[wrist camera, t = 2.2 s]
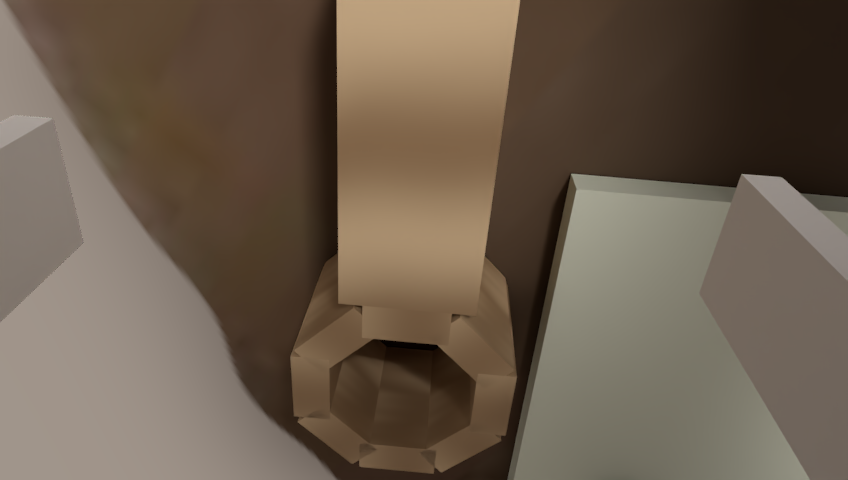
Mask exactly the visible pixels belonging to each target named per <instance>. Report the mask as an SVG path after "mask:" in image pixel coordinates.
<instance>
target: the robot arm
mask: <svg viewBox="0 0 848 480" xmlns="http://www.w3.org/2000/svg"><path fill="white" fill-rule="evenodd" d="M82 244H83V238H82V234H81V230H80V226H79V222H78V217H77V214H76V209H75V205H74V201H73V197H72V193H71V189H70V185H69V181H68V176H67V172H66V168H65V164H64V160H63V156H62V152H61V148H60V144H59V139H58V135H57V131H56V127H55V123H54V119H53V118H45V117H33V116H19V115H13V116H11V117H9V118H7V119H5V120H3V121H1V122H0V322H1V321H2V320H3V319H4V318H5V317H6V316H7V315H8V314H9V313H10V312H11V311H13V310H14V309H15V308H16V307H17V306H18V305H19V304H20V303H21V302H22V301H23V300H24V299H25V298H26V297H27V296H28V295H29V294H30V293H31V292H32V291H34V290H35V289H36V288H37V287H38V286H39V285H40V284H41V283H42V282H43V281H44V280H45V279H46V278H47V277H48V276H49V275H50V274H51V273H52V272H53V271H54V270H56V269H57V268H58V267H59V266H60V265H61V264H62V263H63V262H64V261H65V260H66V259H67V258H68V257H69V256H70V255H71V254H72V253H73V252H74V251H75V250H76V249H78V247H80V246H81V245H82ZM699 294H700V296H701V297H702V299H703V301H704V302H705V304H706V306H707V308H708V309H709V311H710V313H711V314H712V316H713V318H714V319H715V321H716V323H717V324H718V326H719V328H720V329H721V331H722V333H723V334H724V336H725V338H726V339H727V341H728V343H729V344H730V346H731V348H732V350H733V351H734V353H735V355H736V356H737V358H738V360H739V361H740V363H741V365H742V366H743V368H744V370H745V371H746V373H747V375H748V376H749V378H750V380H751V381H752V383H753V385H754V386H755V388H756V390H757V392H758V393H759V395H760V397H761V398H762V400H763V402H764V403H765V405H766V407H767V408H768V410H769V412H770V413H771V415H772V417H773V418H774V420H775V422H776V423H777V425H778V427H779V429H780V430H781V432H782V434H783V435H784V437H785V439H786V440H787V442H788V444H789V445H790V447H791V449H792V450H793V452H794V454H795V455H796V457H797V459H798V460H799V462H800V464H801V465H802V467H803V469H804V471H805V472H806V474H807V476H808V477H809V479H810V480H848V236H847V235H846V234H845V233H844V232H843V231H841V230H840V229H839V228H838V227H837V226H836V225H835V224H834V223H832V222H831V221H830V220H829V219H828V218H827V217H826V216H825V215H824V214H822V213H821V212H820V211H819V210H818V209H817V208H816V207H815V206H813V205H812V204H811V203H810V202H809V201H808V200H807V199H806V198H805V197H803V196H802V195H801V194H800V193H799V192H798V191H797V190H796V189H794V188H793V187H792V186H791V185H790V184H789V183H788V182H787V181H786V180H784V179H783V178H782V177H773V176H761V175H748V174H741V177H740V179H739V182H738V185H737V188H736V191H735V193H734V196H733V199H732V202H731V205H730V208H729V210H728V213H727V216H726V219H725V222H724V224H723V227H722V230H721V233H720V236H719V239H718V241H717V244H716V247H715V250H714V253H713V255H712V258H711V261H710V264H709V267H708V270H707V272H706V275H705V278H704V281H703V284H702V286H701V289H700V292H699Z"/></svg>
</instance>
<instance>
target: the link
mask: <svg viewBox="0 0 848 480" xmlns="http://www.w3.org/2000/svg"><path fill="white" fill-rule="evenodd" d="M519 5H520V0H337V148H338V253H337V254H335V255H334V256H333V257H331V258H330V259H329V260H328V261H326V262H325V265H324V268H322V271H321V274H320V276H319V279H318V282H317V285H316V287H315V290H314V293H313V296H312V298H311V301H310V304H309V307H308V309H307V312H306V315H305V318H304V320H303V323H302V326H301V329H300V331H299V334H298V337H297V340H296V342H295V345H294V348H293V351H292V353H291V356H290V359H291V375H292V392H293V409H294V416H297V417H299V418H298V423H299V424H301V425H302V426H303V427H305V428H306V429H307V430H308V431H310V432H311V433H312V434H314V435H315V436H316V437H318V438H319V439H320V440H321V441H323V442H324V443H325V444H327V445H328V446H329V447H331V448H332V449H333V450H334V451H336V452H337V453H338V454H340V455H341V456H342V457H343V458H345V459H346V460H347V461H349V462H350V463H351V464H353V463H355V462H357V461H358V460H359V467H366V468H377V469H388V470H398V471H409V472H420V473H430V474H434V467H435V468H437V469H438V470H439V471H440V472H443V471H445V470H447V469H449V468H451V467H453V466H455V465H456V464H458V463H460V462H462V461H464V460H466V459H468V458H470V457H472V456H474V455H475V454H477V453H479V452H481V451H483V450H485V449H487V448H489V447H491V446H493V445H494V444H496V443H498V442H500V441H501V435H502V436H506V431H507V426H508V421H509V416H510V411H511V405H512V400H513V395H514V390H515V385H516V380H517V372H516V362H515V352H514V343H513V333H512V323H511V313H510V303H509V293H508V284H506V278H505V277H504V276H503V275H502V274H501V273H500V272H499V271H498V269H497V268H496V267H495V266H494V265H493V264H492V263H491V262H490V261H489V260H488V259H487V258H486V257H485V249H486V242H487V234H488V227H489V220H490V213H491V206H492V198H493V191H494V184H495V177H496V170H497V163H498V155H499V148H500V141H501V134H502V127H503V120H504V112H505V105H506V98H507V91H508V84H509V77H510V69H511V62H512V55H513V48H514V41H515V33H516V26H517V19H518V12H519ZM379 339H380V340H391V341H402V342H413V343H424V344H435V345H438V346H439V347H438V348H437V349H435V350H433V351H430V350H419V349H408V348H397V347H386V346H385V345H384V344H383V343H382V342H381V341H380V340H379Z"/></svg>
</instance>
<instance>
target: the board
mask: <svg viewBox="0 0 848 480" xmlns="http://www.w3.org/2000/svg"><path fill="white" fill-rule="evenodd" d="M735 191H736V188H733V187H722V186H710V185H698V184H687V183H675V182H663V181H652V180H640V179H628V178H617V177H605V176H593V175H582V174H571V176H570V181H569V186H568V191H567V196H566V200H565V205H564V210H563V215H562V220H561V225H560V229H559V234H558V239H557V244H556V249H555V253H554V258H553V263H552V268H551V273H550V277H549V282H548V287H547V292H546V297H545V301H544V306H543V311H542V316H541V321H540V325H539V330H538V335H537V340H536V345H535V349H534V354H533V359H532V364H531V369H530V373H529V378H528V383H527V388H526V393H525V397H524V402H523V407H522V412H521V417H520V421H519V426H518V431H517V436H516V441H515V445H514V450H513V455H512V460H511V465H510V469H509V474H508V479H507V480H810V479H809V477H808V476H807V474H806V472H805V471H804V469H803V467H802V465H801V464H800V462H799V460H798V459H797V457H796V455H795V454H794V452H793V450H792V449H791V447H790V445H789V444H788V442H787V440H786V439H785V437H784V435H783V434H782V432H781V430H780V429H779V427H778V425H777V423H776V422H775V420H774V418H773V417H772V415H771V413H770V412H769V410H768V408H767V407H766V405H765V403H764V402H763V400H762V398H761V397H760V395H759V393H758V392H757V390H756V388H755V386H754V385H753V383H752V381H751V380H750V378H749V376H748V375H747V373H746V371H745V370H744V368H743V366H742V365H741V363H740V361H739V360H738V358H737V356H736V355H735V353H734V351H733V350H732V348H731V346H730V344H729V343H728V341H727V339H726V338H725V336H724V334H723V333H722V331H721V329H720V328H719V326H718V324H717V323H716V321H715V319H714V318H713V316H712V314H711V313H710V311H709V309H708V308H707V306H706V304H705V302H704V301H703V299H702V297H701V296H700V294H699V292H700V289H701V286H702V284H703V281H704V278H705V275H706V272H707V270H708V267H709V264H710V261H711V258H712V255H713V253H714V250H715V247H716V244H717V241H718V239H719V236H720V233H721V230H722V227H723V224H724V222H725V219H726V216H727V213H728V210H729V208H730V205H731V202H732V199H733V196H734V193H735ZM800 194H801V195H802V196H803V197H805V198H806V199H807V200H808V201H809V202H810V203H811V204H812V205H813V206H815V207H816V208H817V209H818V210H819V211H820V212H821V213H822V214H824V215H825V216H826V217H827V218H828V219H829V220H830V221H831V222H832V223H834V224H835V225H836V226H837V227H838V228H839V229H840V230H841V231H843V232H844V233H845V234H846V235H847V236H848V197H838V196H827V195H815V194H803V193H800Z"/></svg>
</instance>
